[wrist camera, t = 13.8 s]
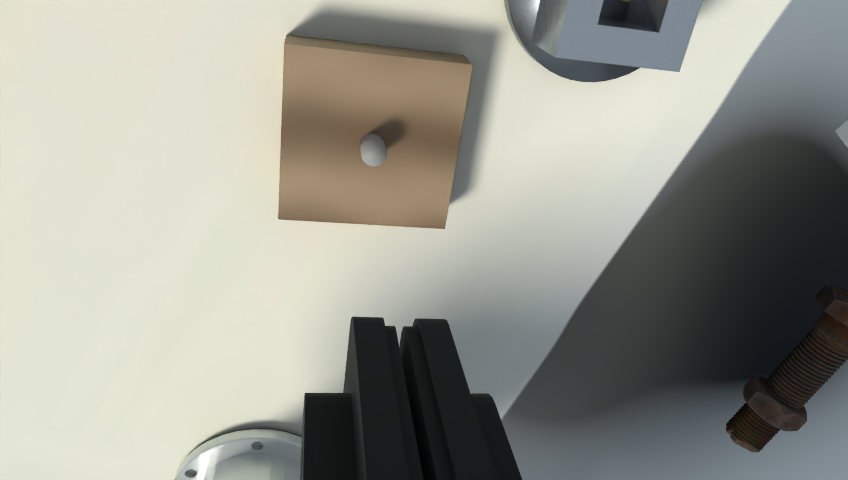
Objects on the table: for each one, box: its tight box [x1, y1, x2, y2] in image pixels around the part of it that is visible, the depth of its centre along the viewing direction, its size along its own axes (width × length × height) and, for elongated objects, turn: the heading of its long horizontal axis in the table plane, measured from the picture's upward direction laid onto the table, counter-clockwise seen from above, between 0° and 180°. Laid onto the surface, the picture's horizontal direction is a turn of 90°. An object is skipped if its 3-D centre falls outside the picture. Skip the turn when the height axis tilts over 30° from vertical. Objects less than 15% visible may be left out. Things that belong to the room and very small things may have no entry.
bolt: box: [726, 286, 848, 452], centre depth 50 cm, size 6×5×15 cm
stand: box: [278, 35, 473, 229], centre depth 35 cm, size 10×10×4 cm
